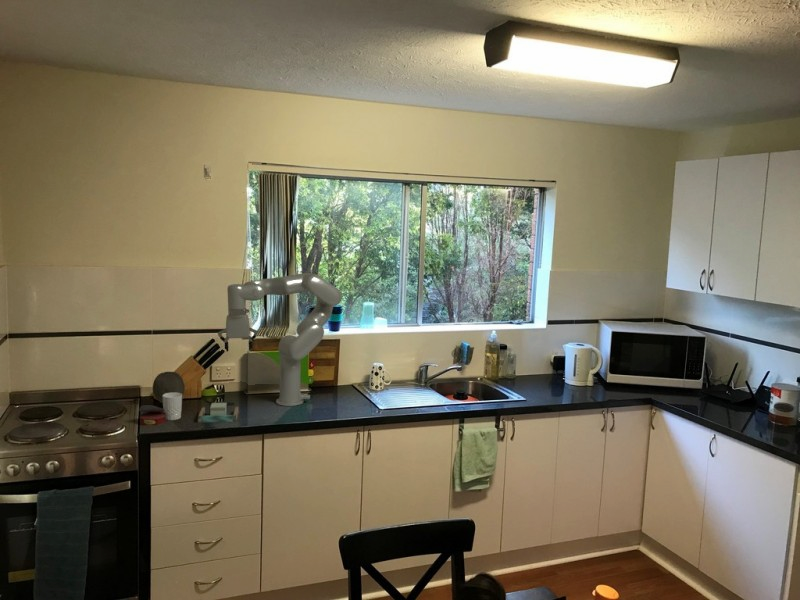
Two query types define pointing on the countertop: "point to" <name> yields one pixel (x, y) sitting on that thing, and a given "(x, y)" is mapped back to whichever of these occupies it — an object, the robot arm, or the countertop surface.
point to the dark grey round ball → (167, 384)
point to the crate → (218, 409)
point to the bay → (217, 417)
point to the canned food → (152, 415)
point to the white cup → (172, 405)
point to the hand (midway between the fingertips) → (238, 350)
